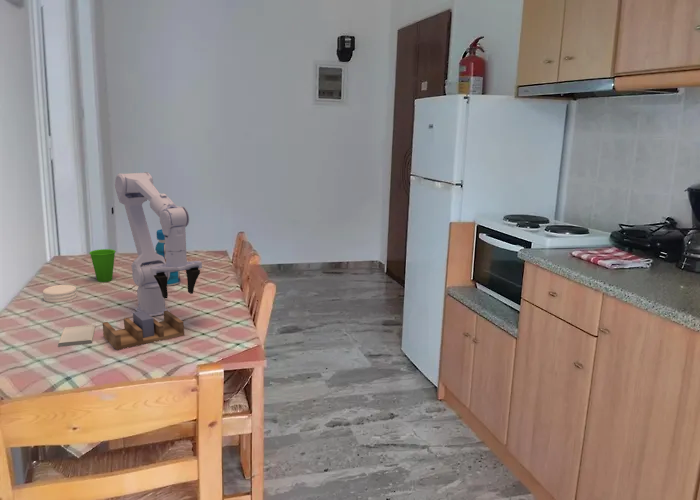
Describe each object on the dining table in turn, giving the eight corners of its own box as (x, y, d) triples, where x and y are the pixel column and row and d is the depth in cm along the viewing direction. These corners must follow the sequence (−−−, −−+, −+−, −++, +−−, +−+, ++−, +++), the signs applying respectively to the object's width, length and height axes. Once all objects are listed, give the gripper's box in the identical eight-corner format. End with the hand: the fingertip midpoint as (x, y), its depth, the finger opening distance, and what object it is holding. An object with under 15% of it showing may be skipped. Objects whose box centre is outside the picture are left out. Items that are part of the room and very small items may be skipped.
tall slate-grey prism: (133, 329, 158) (132, 312, 157) (144, 327, 160) (143, 310, 159) (143, 337, 152) (142, 320, 151) (154, 335, 154) (153, 318, 153)
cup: (117, 282, 207) (115, 253, 204) (90, 284, 203) (88, 255, 201) (117, 276, 215) (115, 248, 212) (92, 278, 211) (89, 249, 209)
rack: (103, 336, 155) (102, 322, 154) (168, 323, 166) (167, 310, 165) (116, 350, 146) (115, 335, 145) (184, 335, 157) (183, 321, 156)
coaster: (62, 304, 182) (62, 294, 181) (36, 301, 184) (35, 291, 183) (83, 295, 191) (82, 285, 190) (58, 293, 193) (57, 283, 192)
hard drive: (91, 339, 150) (95, 324, 161) (57, 343, 147) (63, 326, 158) (92, 345, 150) (95, 329, 161) (58, 349, 147) (64, 332, 159)
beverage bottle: (152, 285, 204) (149, 231, 200) (164, 279, 212) (162, 227, 208) (172, 287, 202) (170, 233, 198) (185, 281, 210) (182, 229, 206)
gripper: (155, 255, 152) (158, 303, 155) (205, 249, 161) (207, 294, 164) (146, 250, 157) (149, 296, 160) (195, 244, 166) (197, 288, 169)
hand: (178, 295), depth 162 cm, fingers open, 7 cm apart
